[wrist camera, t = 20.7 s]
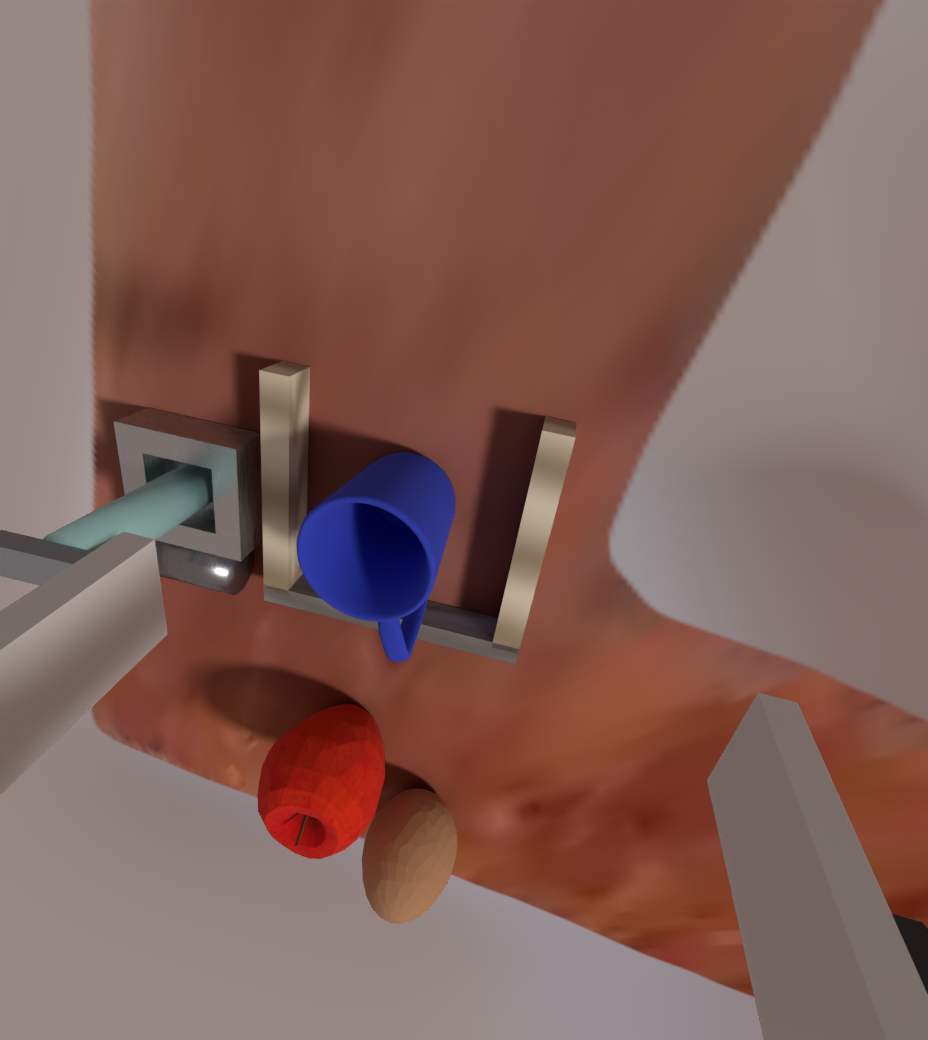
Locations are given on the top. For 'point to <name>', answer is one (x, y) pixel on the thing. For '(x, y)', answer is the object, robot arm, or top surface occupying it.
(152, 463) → the block
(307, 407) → the bay
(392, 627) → the mug
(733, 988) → the top surface
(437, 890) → the egg
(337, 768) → the apple
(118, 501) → the crank peg
